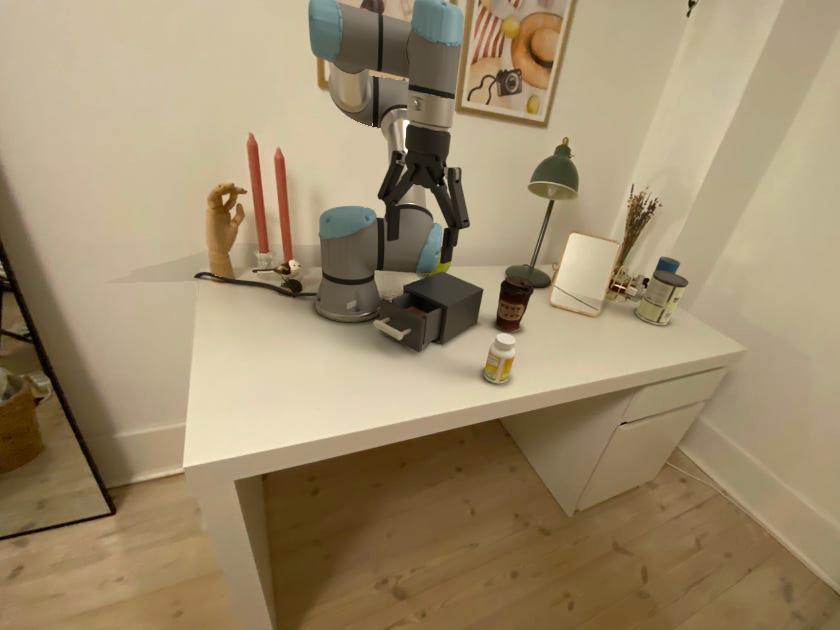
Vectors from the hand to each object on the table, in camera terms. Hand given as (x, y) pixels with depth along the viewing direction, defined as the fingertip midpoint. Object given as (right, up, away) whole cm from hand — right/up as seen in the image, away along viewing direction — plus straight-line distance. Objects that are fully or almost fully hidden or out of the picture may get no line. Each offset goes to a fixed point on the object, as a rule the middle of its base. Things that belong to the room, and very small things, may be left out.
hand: (418, 250), depth 74 cm
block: (-3, -15, +11) cm, 19 cm away
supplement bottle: (+16, -25, +6) cm, 30 cm away
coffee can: (+68, -8, +47) cm, 83 cm away
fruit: (-3, +5, +43) cm, 44 cm away
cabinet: (+2, -12, +20) cm, 23 cm away
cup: (+73, 0, +60) cm, 95 cm away
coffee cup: (+19, -13, +25) cm, 34 cm away
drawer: (-3, -16, +11) cm, 20 cm away
